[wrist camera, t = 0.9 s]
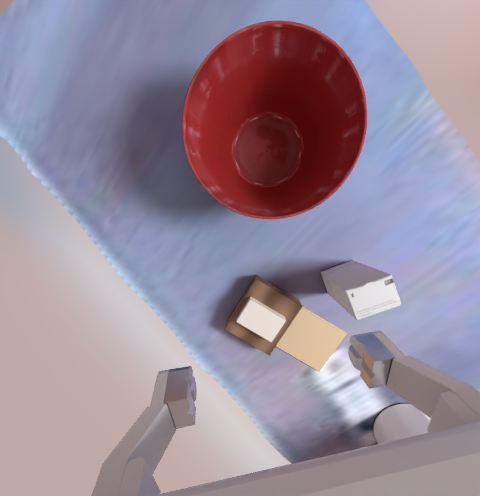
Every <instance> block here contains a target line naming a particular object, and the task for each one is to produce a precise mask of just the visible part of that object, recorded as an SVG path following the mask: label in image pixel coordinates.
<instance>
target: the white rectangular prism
mask: <svg viewBox="0 0 480 496" xmlns="http://www.w3.org/2000/svg"><path fill="white" fill-rule="evenodd" d="M236 322H237V323H239V324H241V325H243V326H244V327H246V328H248V329H249V330H251V331H253V332H255V333H256V334H258V335H260V336H261V337H263V338H265V339H266V340H268V341H270V342H272V341H273V340H274V338H275V337H276V335H277V334H278V332H279V331H280V329H281V328H282V326H283V325H284V323H285V322H286V318H285V316H283V315H281V314H280V313H278V312H276V311H275V310H273V309H271V308H269V307H268V306H266V305H264V304H263V303H261V302H259V301H258V300H256V299H254V298H252V297H250V298H249V300H248V301H247V303H246V304H245V306H244V308H243V309H242V311H241V312H240V314H239V316H238V317H237V321H236Z"/></svg>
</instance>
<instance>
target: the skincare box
mask: <svg viewBox="0 0 480 496" xmlns="http://www.w3.org/2000/svg"><path fill="white" fill-rule="evenodd" d="M321 275H322V278H323V281H324V284H325V287H326V289H327V292H328V294H329V295H330V296H331V297H332V298H333V299H334V300H335V301H337V302H338V303H339V304H340V305H341V306H342V307H343V308H344V309H345V310H346V311H348V312H349V313H350V314H351V315H352V316H353V317H354V318H355V319H356V320H359V319H362V318H365V317H368V316H371V315H374V314H376V313H379V312H382V311H385V310H388V309H391V308H394V307H397V306H400V305H401V301H400V298H399V295H398V293H397V290H396V287H395V284H394V281H393V278H392V275H390V274H388V273H385V272H382V271H380V270H377V269H374V268H372V267H369V266H366V265H364V264H361V263H358V262H356V261H353V260H352V261H349V262H347V263H344V264H341V265H338V266H335V267H333V268H330V269H328V270H325V271H322V272H321Z"/></svg>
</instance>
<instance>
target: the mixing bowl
mask: <svg viewBox="0 0 480 496" xmlns="http://www.w3.org/2000/svg"><path fill="white" fill-rule="evenodd" d="M366 128H367V104H366V97H365V92H364V88H363V85H362V82H361V79H360V77H359V74H358V72H357V70H356V68H355V66H354V64H353V63H352V61H351V60H350V58H349V57H348V55H347V54H346V53H345V51H344V50H343V49H342V48H341V47H340V46H339V45H338V44H337V43H336V42H334V41H333V40H332V39H331V38H329V37H328V36H327V35H325V34H324V33H322V32H320V31H318V30H316V29H315V28H312V27H310V26H307V25H304V24H300V23H296V22H290V21H266V22H261V23H257V24H253V25H250V26H247V27H245V28H243V29H241V30H239V31H237V32H235V33H233V34H232V35H230V36H229V37H227V38H226V39H225V40H223V41H222V42H221V43H220V44H218V45H217V46H216V47H215V48H214V49H213V50H212V51H211V52H210V54H209V55H208V56H207V57H206V58H205V60H204V61H203V62H202V64H201V65H200V67H199V68H198V70H197V72H196V74H195V75H194V77H193V80H192V82H191V84H190V86H189V89H188V92H187V95H186V98H185V103H184V108H183V116H182V136H183V143H184V148H185V152H186V156H187V159H188V161H189V164H190V166H191V169H192V171H193V173H194V174H195V176H196V178H197V179H198V181H199V182H200V184H201V185H202V186H203V188H204V189H205V190H206V191H207V192H208V193H209V194H210V195H211V196H212V197H213V198H214V199H215V200H216V201H218V202H219V203H221V204H222V205H224V206H225V207H227V208H229V209H230V210H232V211H234V212H237V213H239V214H242V215H245V216H249V217H253V218H259V219H281V218H287V217H291V216H295V215H298V214H301V213H304V212H306V211H309V210H311V209H312V208H314V207H316V206H318V205H319V204H321V203H322V202H324V201H325V200H326V199H328V198H329V197H330V196H331V195H332V194H333V193H335V192H336V191H337V190H338V188H339V187H340V186H341V185H342V184H343V183H344V182H345V180H346V179H347V177H348V176H349V175H350V173H351V171H352V170H353V168H354V166H355V164H356V162H357V160H358V158H359V155H360V153H361V150H362V147H363V144H364V140H365V135H366Z"/></svg>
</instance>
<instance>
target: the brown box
mask: <svg viewBox="0 0 480 496" xmlns="http://www.w3.org/2000/svg"><path fill="white" fill-rule="evenodd" d="M250 297H252V298H254V299H256V300H258V301H259V302H261V303H263V304H264V305H266V306H268V307H269V308H271V309H273V310H275V311H276V312H278V313H280V314H281V315H283V316H285V318H286V322H285V323H284V325H283V326H282V328H281V329H280V331H279V332H278V334H277V335H276V337H275V338H274V340H273V341H272V342H270V341H268V340H266V339H265V338H263V337H261V336H260V335H258V334H256V333H255V332H253V331H251V330H249V329H248V328H246V327H244V326H243V325H241V324H239V323H237V322H236V321H237V317H238V316H239V314H240V312H241V311H242V309H243V308H244V306H245V304H246V303H247V301H248V300H249V298H250ZM301 308H302V305H301V303H300V301H299V300H298V299H296V298H295V297H293V296H291V295H290V294H288V293H286V292H285V291H283V290H281V289H279V288H278V287H276V286H274V285H273V284H271V283H269V282H268V281H266V280H264V279H262V278H261V277H259V276H257V275H255V277H254V279H253V280H252V282H251V283H250V285H249V287H248V288H247V290H246V291H245V293H244V295H243V296H242V298H241V300H240V301H239V303H238V304H237V306H236V308H235V309H234V311H233V312H232V314H231V316H230V317H229V319H228V320H227V323H226V327H225V330H227V331H228V332H230V333H232V334H233V335H235V336H237V337H239V338H240V339H242V340H244V341H245V342H247V343H249V344H251V345H252V346H254V347H256V348H257V349H259V350H261V351H263V352H264V353H266V354H268V355H270V354H271V352H272V351H273V349H274V348H275V346H276V345H277V343H278V342H279V340H280V339H281V338H282V336H283V335H284V333H285V332H286V330H287V329H288V327H289V326H290V324H291V323H292V321H293V320H294V318H295V317H296V315H297V314H298V313H299V311H300V310H301Z"/></svg>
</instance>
